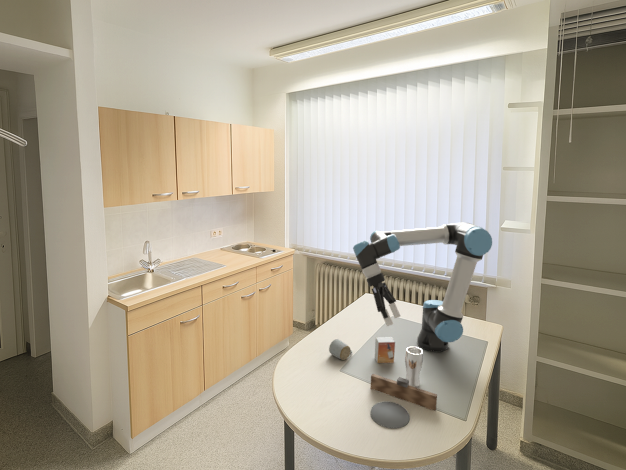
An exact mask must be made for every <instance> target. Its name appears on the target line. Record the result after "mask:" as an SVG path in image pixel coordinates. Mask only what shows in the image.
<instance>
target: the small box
mask: <svg viewBox="0 0 626 470" xmlns="http://www.w3.org/2000/svg"><path fill="white" fill-rule="evenodd" d="M374 344H375V345H374V359H375V360H376V363H377V364H394V363H395V348H396V341H395V340H394V337H392V336H379V337H378V336H376V337H375V343H374Z"/></svg>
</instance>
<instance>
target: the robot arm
mask: <svg viewBox="0 0 626 470" xmlns="http://www.w3.org/2000/svg"><path fill="white" fill-rule="evenodd" d="M369 239H370V240H369V241H370V242H369V241H368V240H363V241H361V242H359V243H356V244H355V245H353V247H352V249H353V252H354V255H355V258H356V260H357V261H358V265H359V266H360V268H361V270H362V274H363V275H364V278H366V282H367V285H368V287H373V288H371V292H372V294H373V298H374V303H375V306H376V308H377V309H376V310H377V312H378V313H381V316H382V318H383V320H384V322H385V325H386V327H389V326H392V325H394V322H393V319H392V318H391V315H390V312H389V311H388V309H387V308H386V305H385V300H386V302H388V306H389V309H390V311H391V313H392V315H393V317H394V319H397V318H400V317H401V314H400V312H399V310H398V307H397V305H396V302H397V299H395V297H394V295H393V294H392V292H391V290H390V289H389V288H388V286H387V284H386V282H385V280H386V279H385V275H384V274H383V272H382V269H381V267H380V265H379V263H378V261H377V260H378V259H381V258H382V257H383V258H384V257H385V256H388V255H390V254H392V253H395V252H397V251H399V250H400V249H401V247H404V246H405V247H406V246H416V245H417V246H418V245H428V244H429V245H431V244H440V243H441V244H443V245H454V246H456V247H455V250H454V253H455V254H456V259H455V263H454V265H453V268H452V272H451V274H450V279H449V280H448V285H447V288H446V290H445V294H444V298H443V300H437V299H428V300H425V301H424V302H423V306H422V320H421V328H420V332H419V333H418V336H417V339H416V340H417V341H416V343H417V345H418V346H419V347H420V349H422V350H423V349H424V350H427V351H429V352H436V353H437V352H445V351H446V350H448V349H449V343H455V342H456V341H458V340H459V339H460V338H461V337H462V336H463V334H464V326H463V324H462V322H463V318H464V314H463V313H462V310H463V306H464V303H465V300H466V298H467V294H468V292H469V288H470V285H471V282H472V279H473V275H474V272H475V270H476V267H477V263H478V262H480V261H481V260H482V261H483V257H484V255H486V254H487V253H489V252H490V250H491V249H492V246H493V238H492V235H491V234H490V232H489V231H488V230H486V229H485V228H483V227H482V226H478V225H474V224H472V223H469V222H454V223H446V224H442V225H441V226H438V227H437V226H434V227H426V228H425V227H424V228H414V229H413V228H411V229H402V230H401V229H400V230H391V231H390V230H389V231H381V230H375V231H373V232H372V233H371V234H370V237H369Z"/></svg>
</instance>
